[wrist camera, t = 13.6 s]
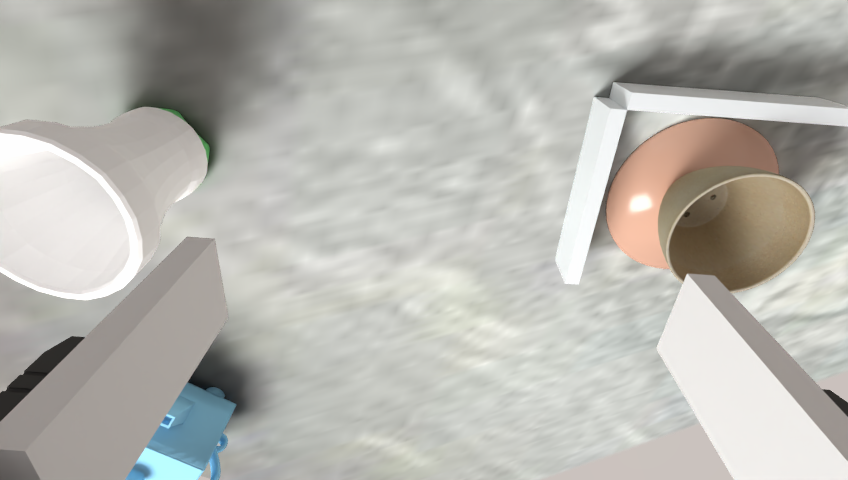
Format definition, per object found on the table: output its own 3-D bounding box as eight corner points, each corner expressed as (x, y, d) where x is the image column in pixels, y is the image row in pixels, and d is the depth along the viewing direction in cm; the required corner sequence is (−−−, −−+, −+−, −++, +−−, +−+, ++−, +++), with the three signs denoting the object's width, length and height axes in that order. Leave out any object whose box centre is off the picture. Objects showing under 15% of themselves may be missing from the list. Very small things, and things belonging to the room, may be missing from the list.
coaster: (631, 111, 37) (633, 112, 36) (806, 124, 37) (809, 125, 36) (588, 261, 43) (590, 263, 43) (736, 271, 43) (739, 274, 43)
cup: (78, 85, 37) (-104, 135, 25) (212, 75, 36) (93, 122, 24) (131, 211, 42) (3, 305, 30) (249, 205, 42) (167, 298, 29)
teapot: (273, 383, 53) (234, 475, 43) (214, 464, 60) (169, 558, 50) (137, 319, 49) (60, 404, 39) (92, 414, 56) (18, 505, 46)
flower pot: (700, 117, 36) (754, 145, 30) (780, 185, 39) (845, 224, 33) (607, 211, 40) (638, 252, 34) (685, 267, 43) (727, 315, 37)
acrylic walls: (597, 80, 36) (614, 91, 32) (818, 97, 36) (860, 109, 32) (555, 259, 43) (564, 283, 40) (736, 272, 43) (762, 298, 40)
